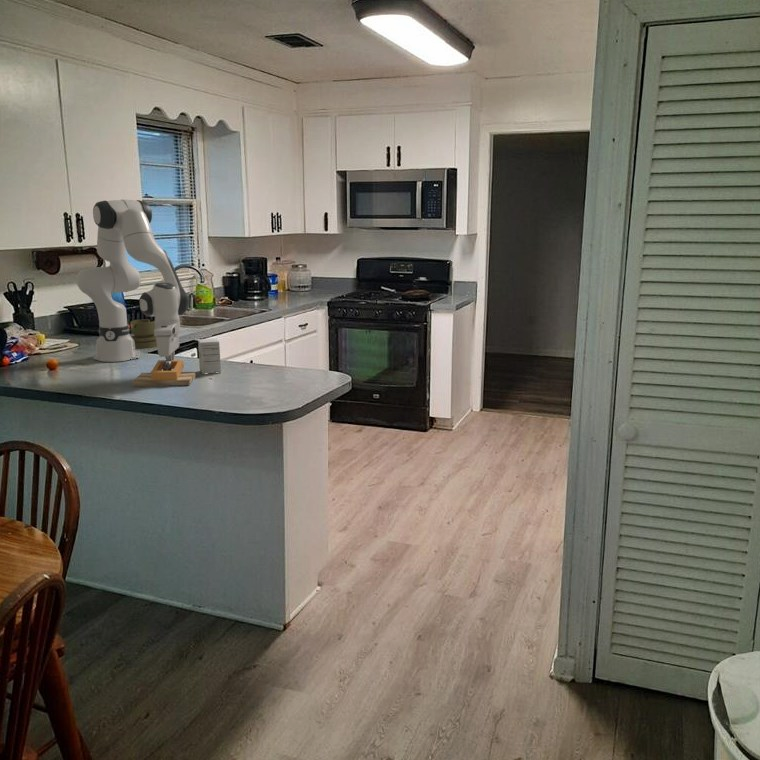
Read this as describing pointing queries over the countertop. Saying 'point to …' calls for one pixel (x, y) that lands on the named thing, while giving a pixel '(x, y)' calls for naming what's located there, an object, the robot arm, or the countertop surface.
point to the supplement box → (209, 355)
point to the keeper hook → (167, 366)
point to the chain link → (167, 375)
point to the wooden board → (145, 380)
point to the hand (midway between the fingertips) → (170, 364)
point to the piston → (143, 333)
